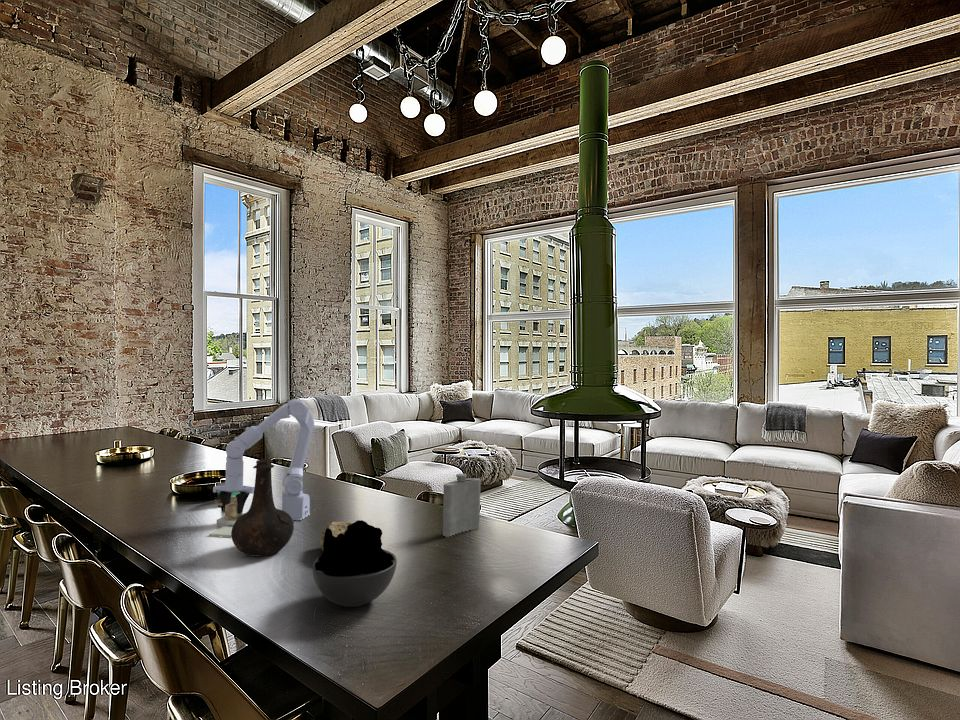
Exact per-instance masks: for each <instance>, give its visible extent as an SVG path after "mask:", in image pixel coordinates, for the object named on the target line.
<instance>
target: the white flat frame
mask: <svg viewBox="0 0 960 720" xmlns="http://www.w3.org/2000/svg"><path fill="white" fill-rule="evenodd" d="M245 513H246V512H245ZM245 513H244V512H242V515H243V514H245ZM236 520H237V519H225V515H224V516H222V517H220V518H218V519H216V524H215V525H216V526H215V527H216V528H221V527H223V526H229V527H233V525H234V523H235V522H236Z"/></svg>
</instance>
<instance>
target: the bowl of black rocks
mask: <svg viewBox="0 0 960 720" xmlns="http://www.w3.org/2000/svg"><path fill="white" fill-rule="evenodd" d="M352 523H353V524H351V525H348V526H347V530H346V531H345V532H344V534H342V533H340V534H338V536H337V537H334V536H333V535H332V530H331V529H329V528H327V527H326V528H327V529H326V531H325V534H324V542H323V549H324V550H323V551H322V554H320V556H319V557H317V558H316V559H315V560H314V561H313V563H312V565H311V570H312V577H313V580H314V583H315V585H316V587H317V588H318V590H319V592H320V593H321V594H322V595H323V596H324V598H326V599H327V600H328V601H330V602H332V603H334V604H335V605H339V606H343V607H351V608H352V607H359V606H364V605H367V604H368V603H370V602H371V603H372V602H373V601H374V600H376V599H377V598H379V596H381V595H382V594H383V593H384V592H385V590H386V589H388V587H389V586H390V584H391V582H392V580H393V579H394V575H395V572H396V569H397V563H398V560H397V559H398V558H397V557H396V555H395V554H394V553H392V552H391V551H390V550H386V549H383V548H382V545H383V543H382V535H383V531H382V529H381V528H380V527H376V526H373V525H370V524H368V523H367V521H364V520H363V519H362V520H361V519H360V520H355V522H352Z"/></svg>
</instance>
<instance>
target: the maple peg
mask: <svg viewBox="0 0 960 720" xmlns="http://www.w3.org/2000/svg"><path fill="white" fill-rule="evenodd" d="M237 508H238V504H237V503H233V502H232V503H230V504H227V505H225V511H224V516H225V519H238V518H239V517H240V516H242V513H243V512H242V513H240V514H238V512H237Z"/></svg>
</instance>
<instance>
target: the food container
mask: <svg viewBox="0 0 960 720" xmlns="http://www.w3.org/2000/svg"><path fill="white" fill-rule="evenodd" d="M225 483H226V480H224V481H223V482H217V485H216V486H225ZM218 494H220V492H217V495H218ZM237 494H240V493H233V492H232V495H231V500H230V503H232V502H233V503H237V498H236V495H237ZM222 506H223V505H222V502H221V500H220V499H219V497H218V496H217V507H218V508H223V507H222Z"/></svg>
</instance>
